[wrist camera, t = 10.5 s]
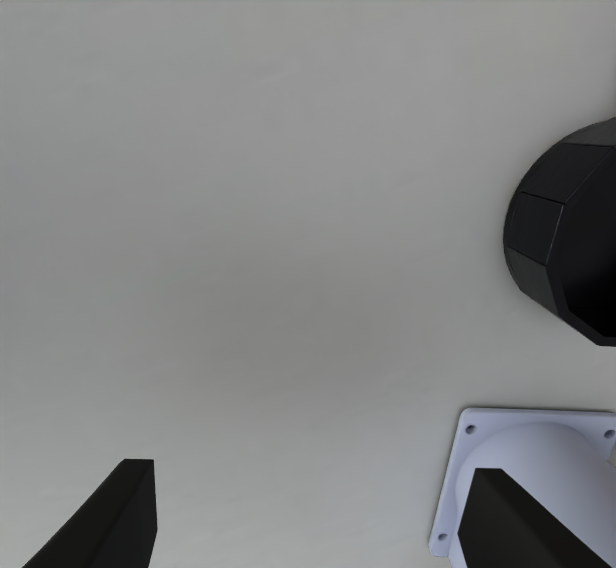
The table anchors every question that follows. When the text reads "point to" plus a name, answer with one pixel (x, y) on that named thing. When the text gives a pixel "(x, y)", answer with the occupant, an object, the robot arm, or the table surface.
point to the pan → (569, 232)
